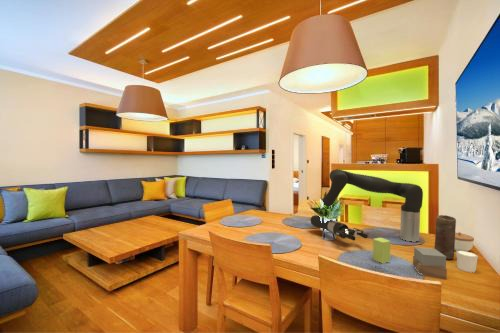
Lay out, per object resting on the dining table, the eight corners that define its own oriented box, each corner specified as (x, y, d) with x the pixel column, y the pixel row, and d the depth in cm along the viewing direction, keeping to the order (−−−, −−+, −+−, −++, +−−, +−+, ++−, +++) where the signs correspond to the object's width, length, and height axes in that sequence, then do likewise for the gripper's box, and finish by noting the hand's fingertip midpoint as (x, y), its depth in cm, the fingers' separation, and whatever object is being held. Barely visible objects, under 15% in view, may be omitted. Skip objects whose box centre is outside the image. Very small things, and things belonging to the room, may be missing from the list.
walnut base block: (412, 265, 101) (413, 256, 101) (437, 269, 98) (437, 259, 98) (419, 275, 93) (419, 264, 93) (446, 280, 89) (446, 269, 89)
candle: (455, 257, 109) (456, 216, 108) (453, 262, 104) (455, 219, 103) (435, 252, 115) (436, 214, 114) (432, 257, 110) (434, 216, 109)
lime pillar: (372, 259, 107) (373, 238, 107) (380, 257, 109) (380, 237, 108) (382, 264, 102) (383, 242, 102) (389, 262, 104) (390, 241, 104)
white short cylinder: (466, 265, 101) (466, 250, 101) (482, 273, 94) (482, 256, 94) (451, 265, 101) (451, 250, 101) (466, 273, 94) (467, 257, 94)
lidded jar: (459, 246, 124) (459, 229, 123) (479, 254, 113) (480, 235, 113) (440, 246, 123) (440, 229, 123) (458, 254, 113) (459, 236, 112)
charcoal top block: (413, 257, 100) (414, 247, 100) (434, 259, 98) (435, 248, 98) (422, 265, 92) (423, 254, 92) (445, 267, 90) (446, 256, 90)
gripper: (328, 223, 128) (351, 232, 113) (347, 220, 133) (371, 228, 118) (327, 236, 128) (350, 246, 113) (346, 233, 133) (370, 243, 118)
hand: (361, 237), depth 116 cm, fingers open, 8 cm apart
